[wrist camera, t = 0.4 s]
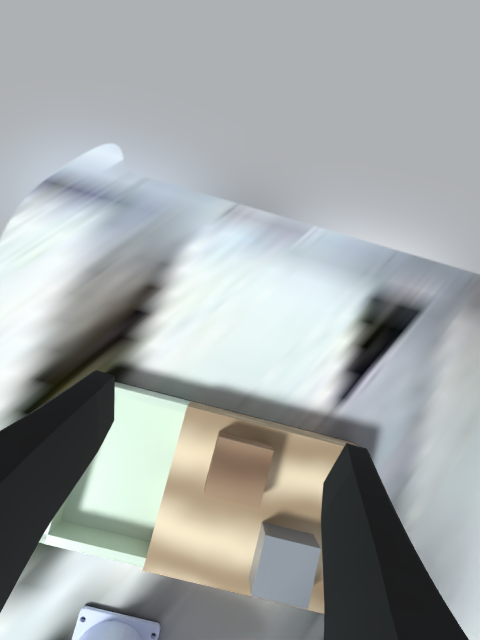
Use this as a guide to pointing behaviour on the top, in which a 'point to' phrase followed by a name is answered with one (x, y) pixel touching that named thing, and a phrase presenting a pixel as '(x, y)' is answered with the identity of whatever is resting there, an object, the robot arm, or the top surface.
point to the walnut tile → (238, 469)
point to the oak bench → (233, 518)
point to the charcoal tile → (284, 565)
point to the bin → (122, 480)
